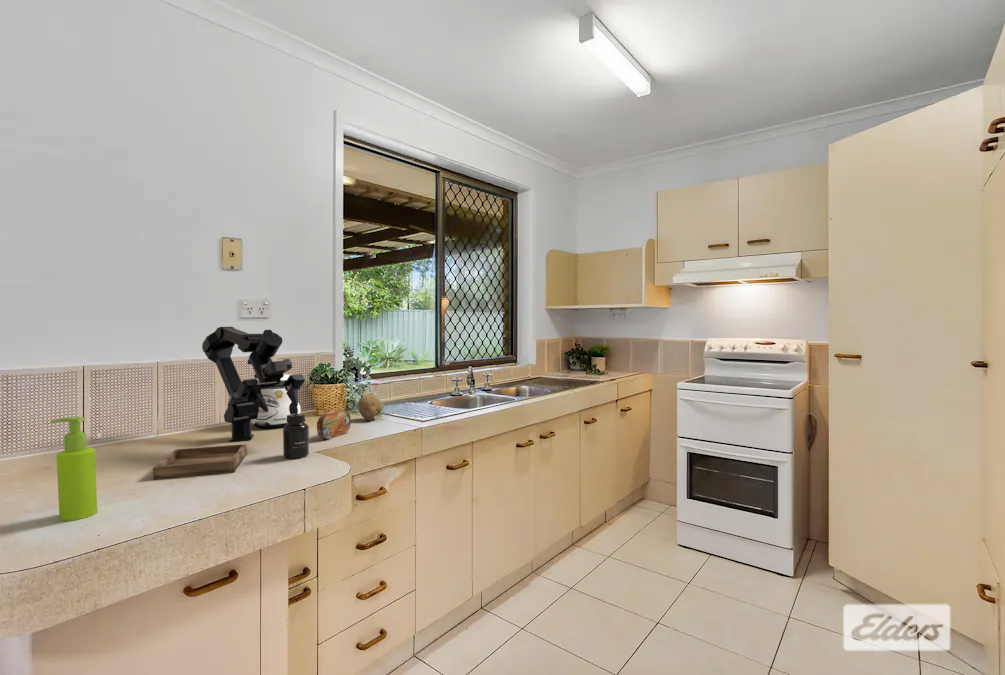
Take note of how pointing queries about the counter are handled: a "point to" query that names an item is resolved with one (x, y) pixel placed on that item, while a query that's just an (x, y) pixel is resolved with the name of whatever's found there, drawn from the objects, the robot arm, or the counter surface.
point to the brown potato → (369, 406)
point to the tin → (333, 424)
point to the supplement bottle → (295, 437)
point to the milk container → (275, 407)
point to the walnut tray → (200, 461)
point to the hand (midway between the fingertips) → (282, 408)
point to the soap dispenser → (76, 474)
